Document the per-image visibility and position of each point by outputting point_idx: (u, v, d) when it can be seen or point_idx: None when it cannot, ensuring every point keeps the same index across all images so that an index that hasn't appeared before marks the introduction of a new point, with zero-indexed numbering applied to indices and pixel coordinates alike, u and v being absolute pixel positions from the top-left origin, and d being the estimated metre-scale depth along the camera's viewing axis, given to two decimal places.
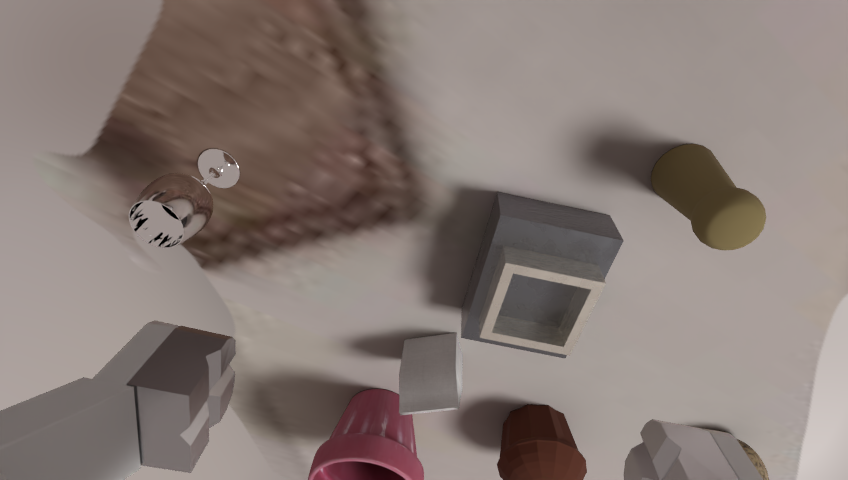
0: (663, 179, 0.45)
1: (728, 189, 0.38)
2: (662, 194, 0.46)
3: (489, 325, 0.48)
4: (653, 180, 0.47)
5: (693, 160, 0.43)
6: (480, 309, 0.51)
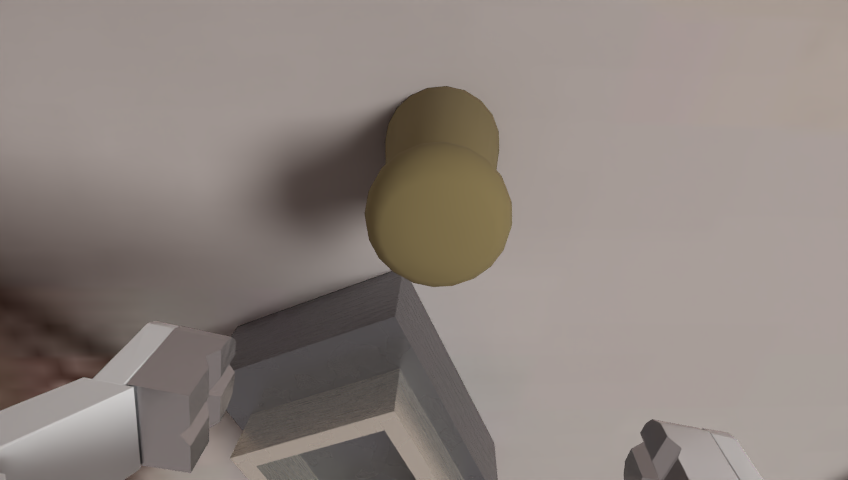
0: None
1: (385, 165, 0.17)
2: None
3: None
4: None
5: (396, 127, 0.22)
6: None
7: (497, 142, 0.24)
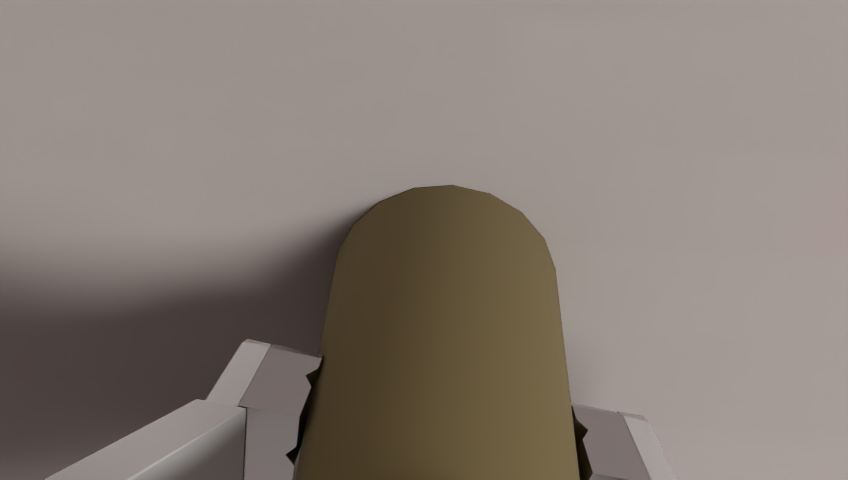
0: None
1: None
2: None
3: None
4: None
5: (339, 294, 0.10)
6: None
7: (559, 306, 0.11)
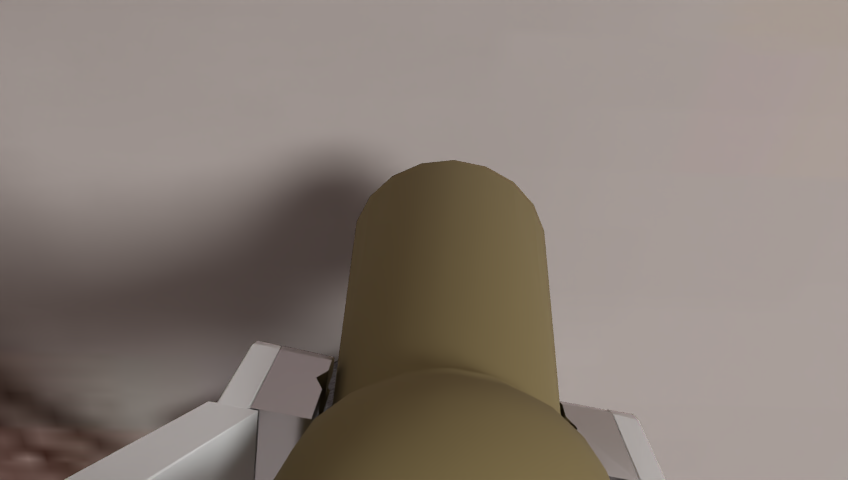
0: None
1: (301, 444, 0.06)
2: None
3: None
4: None
5: (362, 249, 0.12)
6: None
7: (546, 259, 0.13)
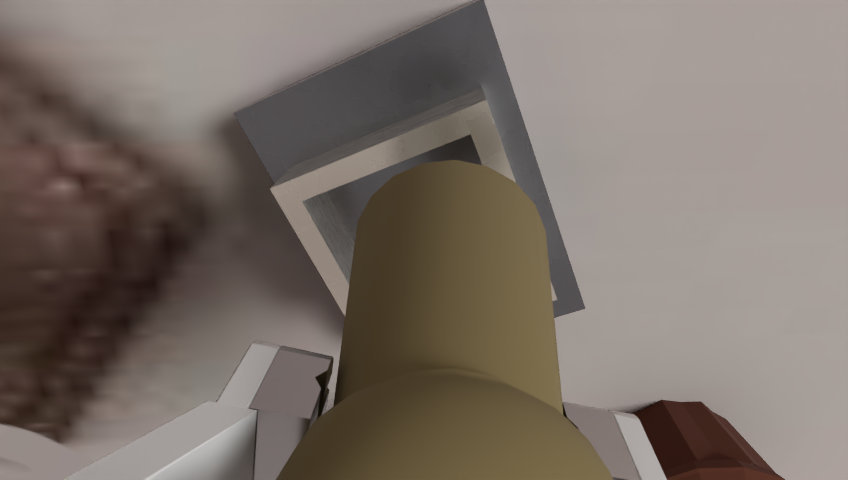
0: None
1: (302, 445, 0.06)
2: None
3: None
4: None
5: (363, 249, 0.12)
6: None
7: None
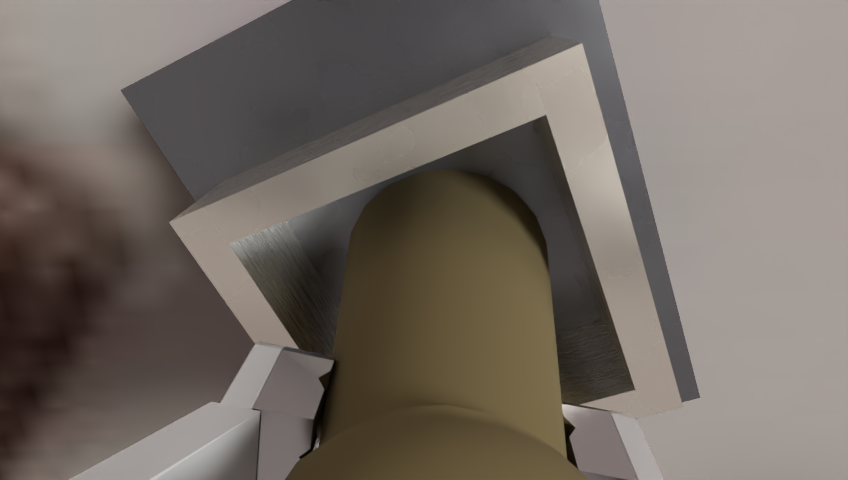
0: None
1: None
2: None
3: None
4: None
5: (355, 263, 0.11)
6: None
7: (549, 273, 0.13)
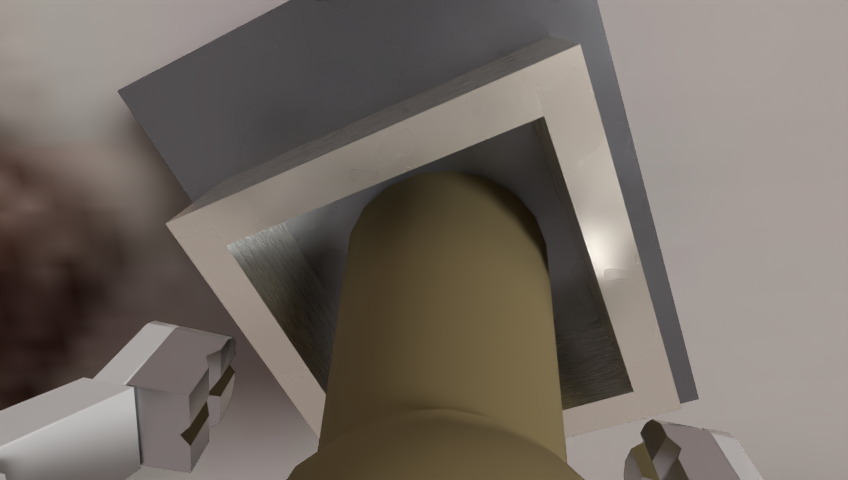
0: None
1: None
2: None
3: None
4: None
5: (354, 266, 0.11)
6: None
7: None
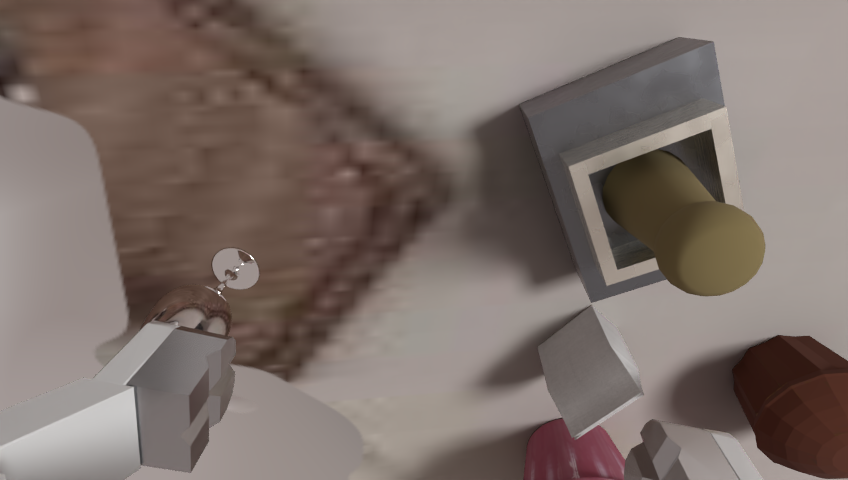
0: (618, 219, 0.33)
1: (675, 217, 0.26)
2: None
3: (607, 262, 0.34)
4: (614, 220, 0.35)
5: (632, 182, 0.31)
6: (589, 252, 0.37)
7: None
